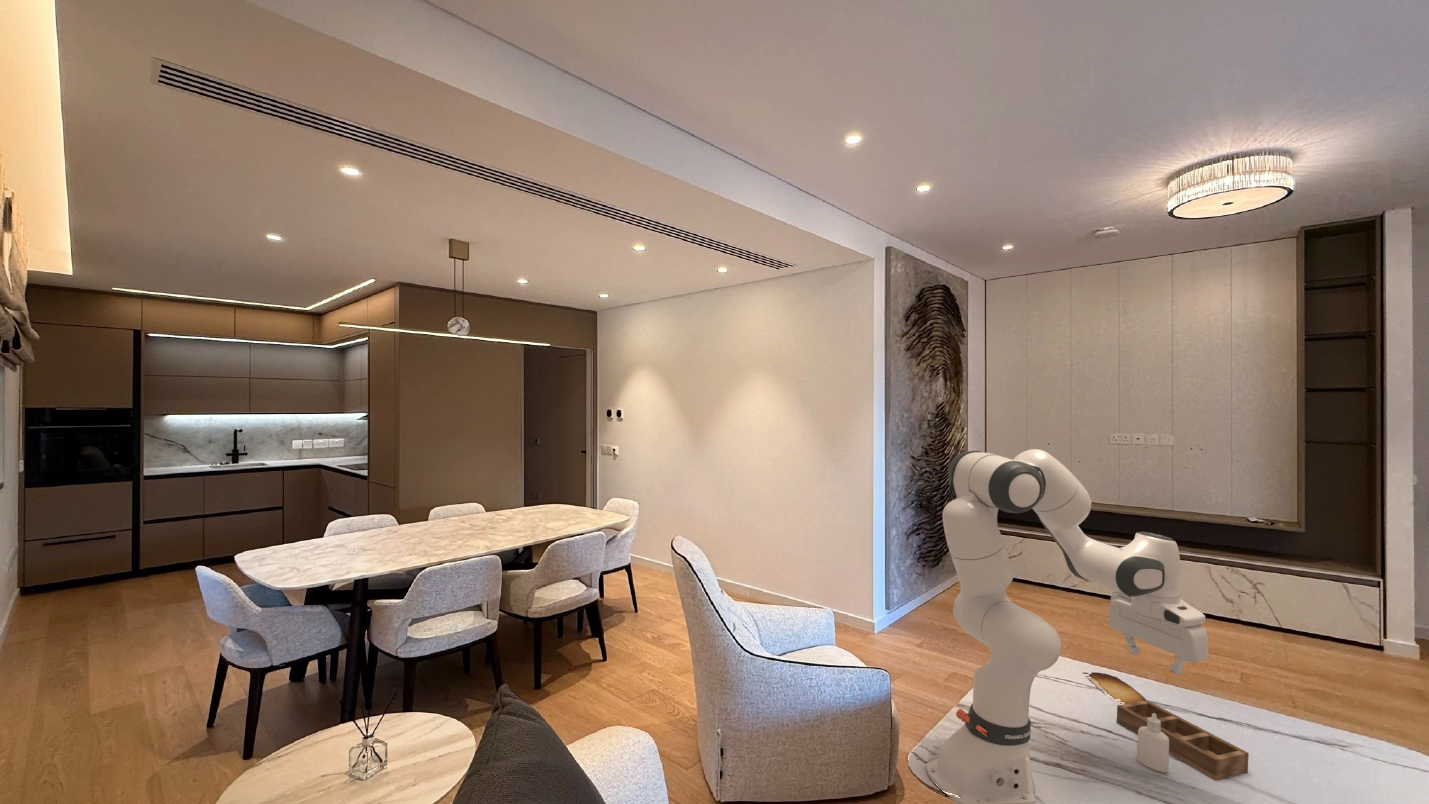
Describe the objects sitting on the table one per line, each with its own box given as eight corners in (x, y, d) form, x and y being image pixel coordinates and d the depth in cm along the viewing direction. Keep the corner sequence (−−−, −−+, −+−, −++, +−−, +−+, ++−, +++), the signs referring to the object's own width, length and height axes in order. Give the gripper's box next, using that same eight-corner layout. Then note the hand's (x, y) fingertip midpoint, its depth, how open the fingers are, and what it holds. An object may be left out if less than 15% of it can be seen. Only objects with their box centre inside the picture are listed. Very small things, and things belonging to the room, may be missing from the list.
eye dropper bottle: (1149, 757, 134) (1151, 706, 134) (1172, 773, 129) (1174, 720, 129) (1133, 758, 134) (1135, 708, 133) (1155, 774, 128) (1157, 721, 128)
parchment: (1080, 672, 176) (1080, 669, 176) (1114, 674, 175) (1114, 671, 175) (1128, 719, 151) (1128, 716, 151) (1168, 722, 150) (1168, 719, 150)
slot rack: (1215, 780, 127) (1216, 760, 127) (1116, 722, 148) (1117, 705, 148) (1247, 772, 130) (1248, 753, 130) (1146, 717, 151) (1146, 700, 151)
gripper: (1101, 589, 140) (1101, 645, 140) (1193, 622, 120) (1192, 687, 121) (1121, 586, 142) (1120, 641, 142) (1214, 618, 122) (1213, 682, 123)
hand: (1154, 663), depth 131 cm, fingers open, 8 cm apart
